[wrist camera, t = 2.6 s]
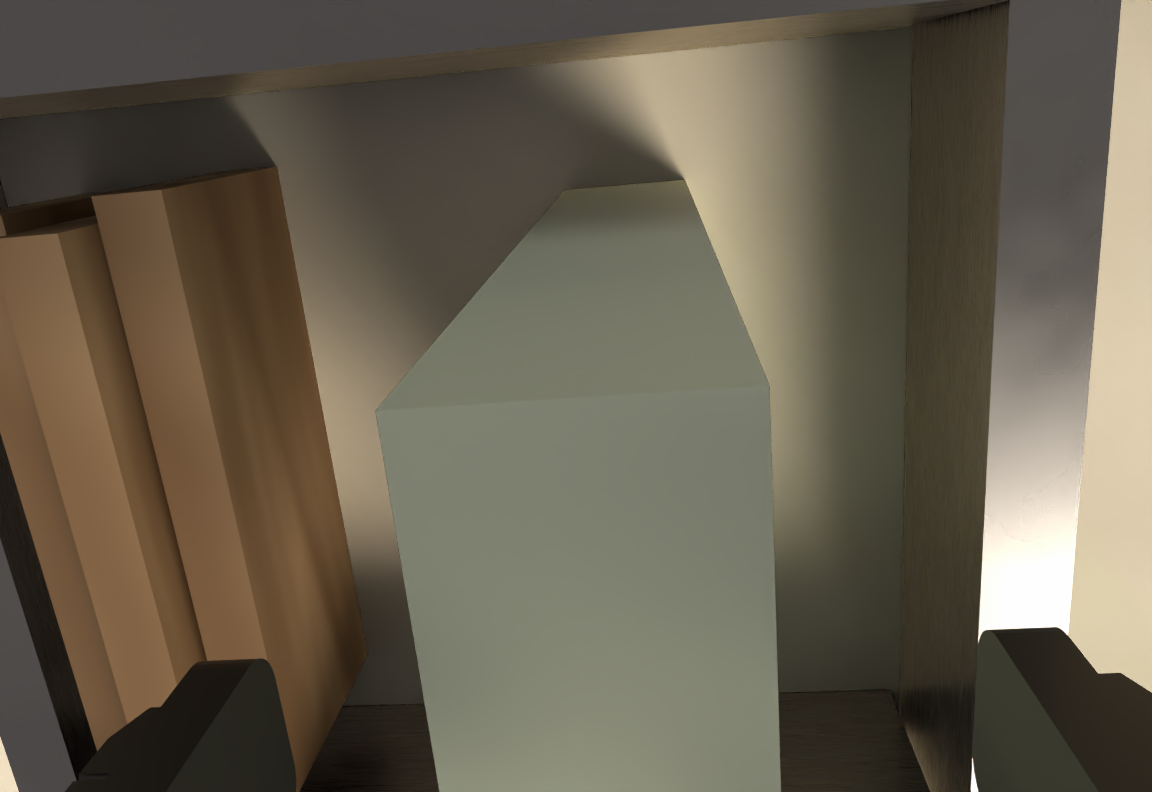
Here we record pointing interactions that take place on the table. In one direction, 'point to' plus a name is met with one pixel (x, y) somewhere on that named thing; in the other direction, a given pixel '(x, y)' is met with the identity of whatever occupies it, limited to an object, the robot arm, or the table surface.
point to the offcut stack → (176, 446)
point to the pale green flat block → (593, 514)
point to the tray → (934, 319)
